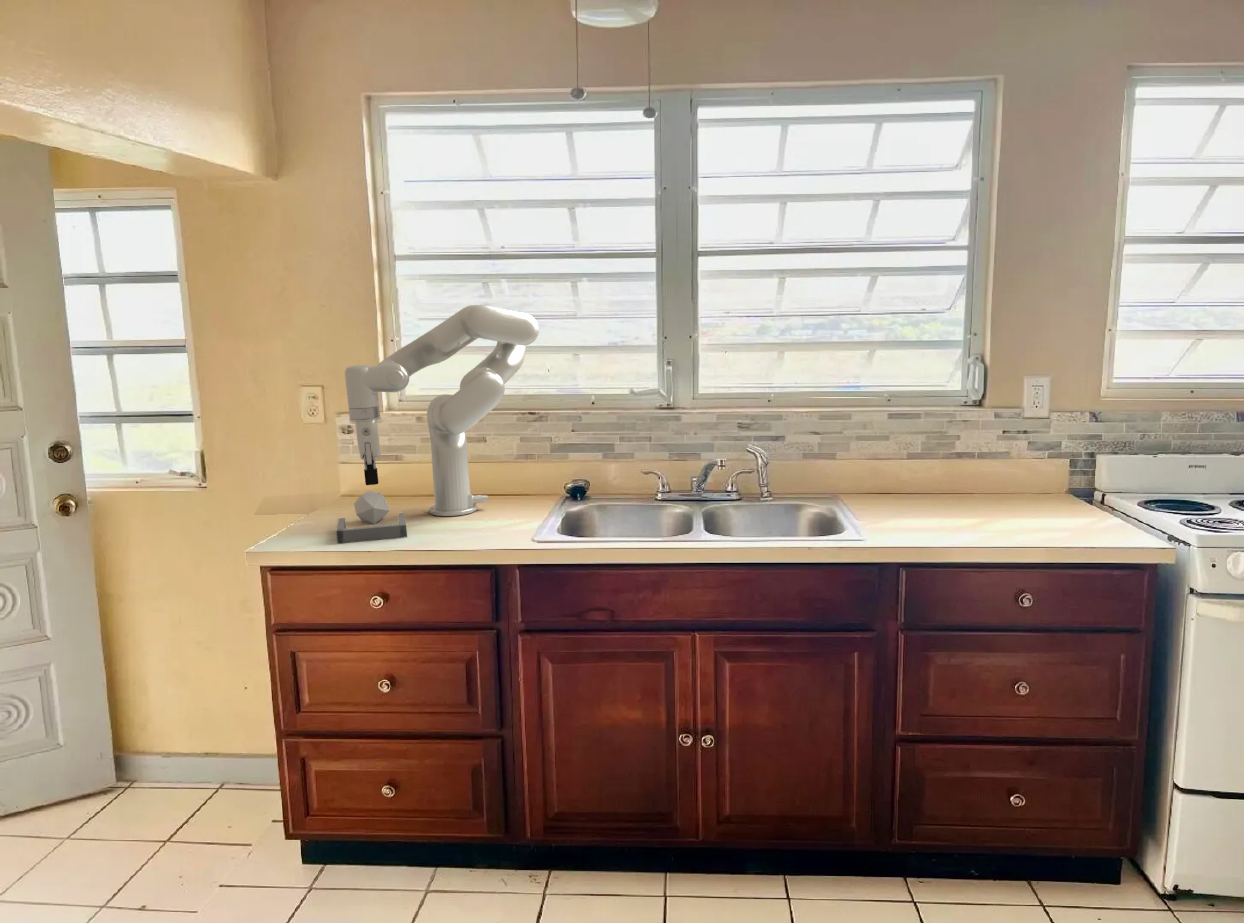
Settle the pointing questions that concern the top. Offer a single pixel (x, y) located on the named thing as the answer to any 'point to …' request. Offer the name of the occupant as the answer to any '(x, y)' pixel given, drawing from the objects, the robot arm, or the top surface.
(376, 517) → the die
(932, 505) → the top surface
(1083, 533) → the top surface
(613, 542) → the top surface
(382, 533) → the bay
